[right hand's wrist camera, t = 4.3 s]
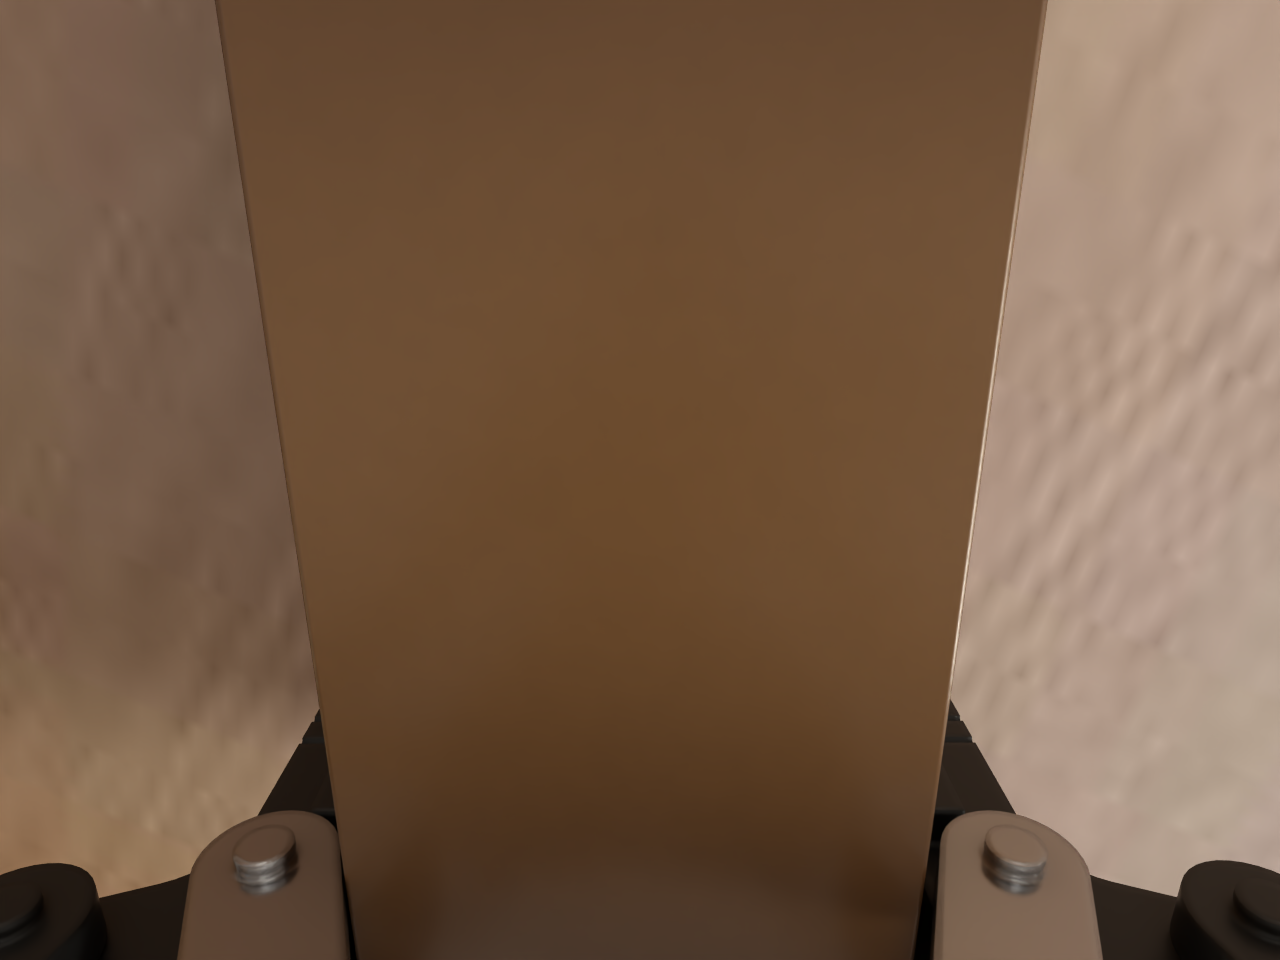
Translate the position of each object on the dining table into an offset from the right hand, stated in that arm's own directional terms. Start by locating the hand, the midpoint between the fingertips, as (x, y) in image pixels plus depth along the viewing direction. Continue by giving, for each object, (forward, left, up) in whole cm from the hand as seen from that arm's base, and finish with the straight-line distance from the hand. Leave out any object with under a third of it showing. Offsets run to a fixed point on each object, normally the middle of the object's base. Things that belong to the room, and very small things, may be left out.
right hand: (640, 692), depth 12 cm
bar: (+9, 0, -3) cm, 10 cm away
